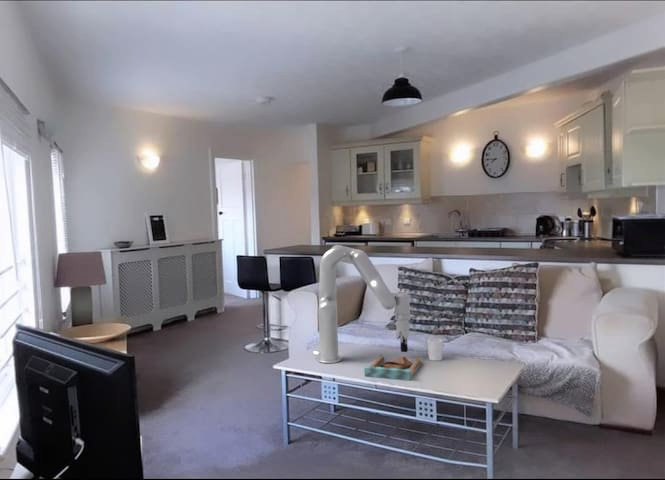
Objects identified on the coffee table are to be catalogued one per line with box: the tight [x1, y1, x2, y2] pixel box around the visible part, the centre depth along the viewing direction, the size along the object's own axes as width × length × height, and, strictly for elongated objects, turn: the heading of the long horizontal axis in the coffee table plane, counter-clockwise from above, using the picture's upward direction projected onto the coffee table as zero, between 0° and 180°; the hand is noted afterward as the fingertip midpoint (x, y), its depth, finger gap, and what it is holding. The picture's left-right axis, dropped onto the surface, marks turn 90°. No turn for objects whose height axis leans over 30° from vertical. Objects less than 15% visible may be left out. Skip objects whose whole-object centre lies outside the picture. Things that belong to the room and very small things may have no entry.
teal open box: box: [363, 354, 422, 381], centre depth 236 cm, size 21×27×4 cm
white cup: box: [426, 337, 444, 362], centre depth 251 cm, size 8×8×10 cm
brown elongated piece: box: [380, 356, 414, 369], centre depth 239 cm, size 18×7×7 cm
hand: (404, 351), depth 255 cm, fingers closed
